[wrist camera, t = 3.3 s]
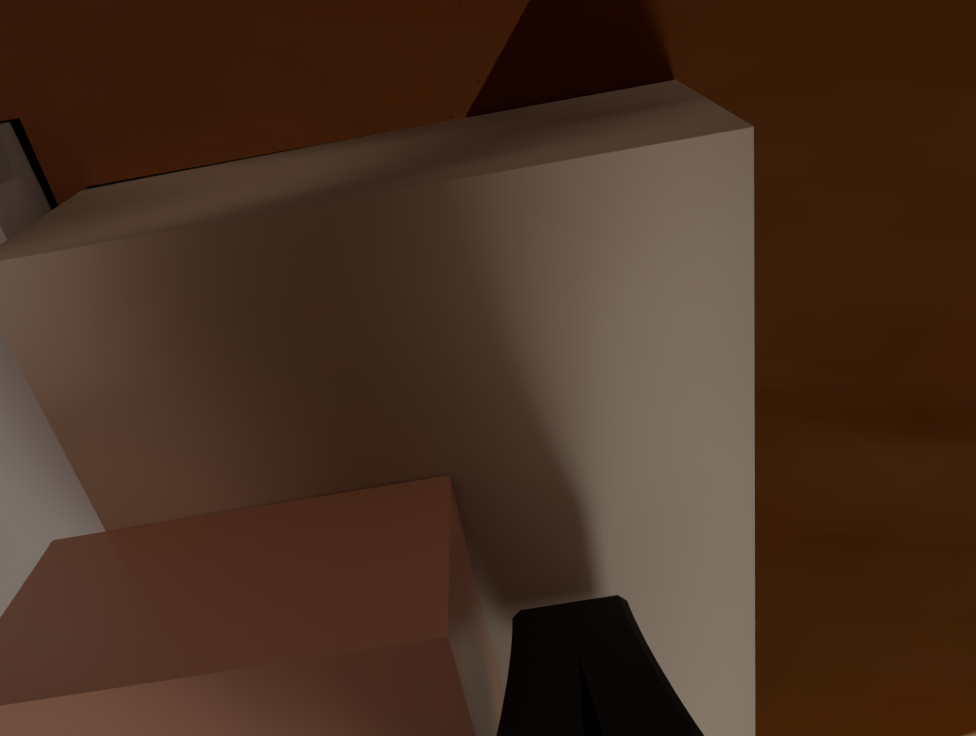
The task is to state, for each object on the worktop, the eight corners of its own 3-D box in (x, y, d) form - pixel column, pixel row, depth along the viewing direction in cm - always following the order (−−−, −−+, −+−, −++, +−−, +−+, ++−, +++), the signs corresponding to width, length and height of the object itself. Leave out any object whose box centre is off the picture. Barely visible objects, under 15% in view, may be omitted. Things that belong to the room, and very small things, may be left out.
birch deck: (675, 79, 10) (754, 127, 8) (705, 689, 16) (755, 836, 13) (87, 186, 11) (-34, 266, 8) (323, 745, 16) (298, 900, 14)
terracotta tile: (449, 475, 9) (447, 636, 7) (514, 738, 12) (527, 921, 10) (52, 539, 10) (-67, 715, 7) (194, 785, 12) (135, 973, 10)
